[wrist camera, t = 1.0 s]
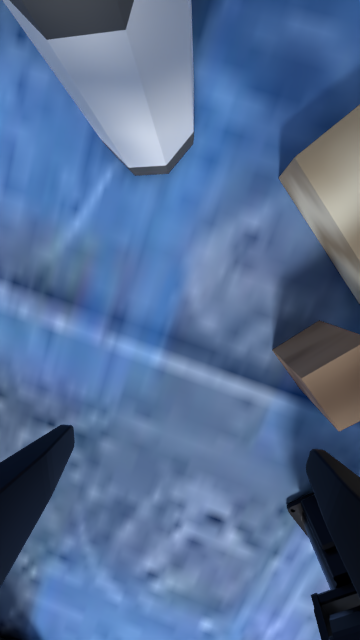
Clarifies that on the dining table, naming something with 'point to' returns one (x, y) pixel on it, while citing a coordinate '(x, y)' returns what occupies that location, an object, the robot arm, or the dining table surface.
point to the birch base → (332, 194)
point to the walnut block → (326, 370)
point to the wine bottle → (122, 71)
